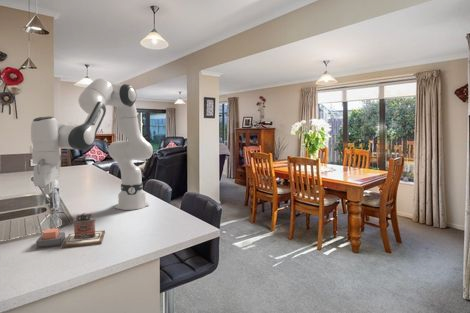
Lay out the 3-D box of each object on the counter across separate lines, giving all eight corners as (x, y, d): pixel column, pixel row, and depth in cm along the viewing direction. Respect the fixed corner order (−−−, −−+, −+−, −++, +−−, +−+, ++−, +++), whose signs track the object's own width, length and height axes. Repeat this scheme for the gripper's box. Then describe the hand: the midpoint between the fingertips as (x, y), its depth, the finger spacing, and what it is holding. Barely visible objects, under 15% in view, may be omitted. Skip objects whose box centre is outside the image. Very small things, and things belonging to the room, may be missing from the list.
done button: (46, 236, 114) (45, 229, 114) (58, 235, 116) (58, 228, 115) (43, 240, 110) (42, 233, 110) (55, 239, 112) (55, 231, 111)
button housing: (42, 241, 116) (42, 234, 115) (65, 238, 118) (64, 231, 118) (36, 249, 108) (35, 241, 108) (60, 246, 111) (59, 238, 110)
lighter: (73, 239, 115) (71, 215, 114) (75, 236, 118) (74, 213, 117) (94, 237, 117) (93, 214, 116) (96, 234, 120) (95, 211, 119)
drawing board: (69, 236, 121) (69, 233, 121) (104, 232, 125) (104, 229, 125) (61, 248, 109) (61, 245, 108) (101, 243, 113) (101, 241, 113)
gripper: (47, 161, 101) (49, 198, 102) (62, 155, 120) (63, 187, 121) (26, 161, 99) (29, 200, 100) (44, 156, 118) (46, 188, 119)
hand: (48, 193), depth 111 cm, fingers closed
